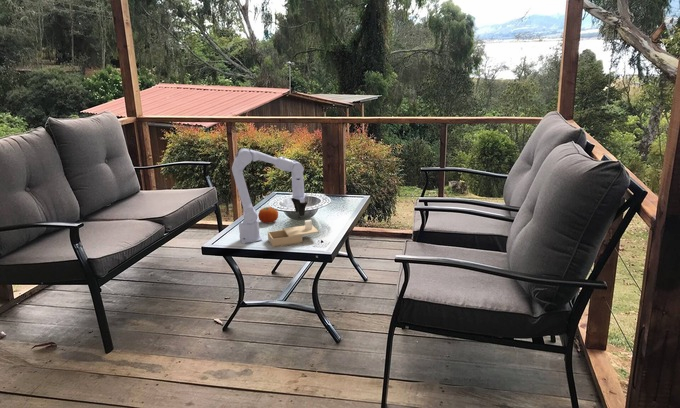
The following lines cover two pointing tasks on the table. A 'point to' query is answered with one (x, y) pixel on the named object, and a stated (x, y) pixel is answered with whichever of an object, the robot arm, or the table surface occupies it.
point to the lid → (301, 229)
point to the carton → (283, 239)
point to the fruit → (268, 215)
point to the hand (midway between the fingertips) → (299, 213)
